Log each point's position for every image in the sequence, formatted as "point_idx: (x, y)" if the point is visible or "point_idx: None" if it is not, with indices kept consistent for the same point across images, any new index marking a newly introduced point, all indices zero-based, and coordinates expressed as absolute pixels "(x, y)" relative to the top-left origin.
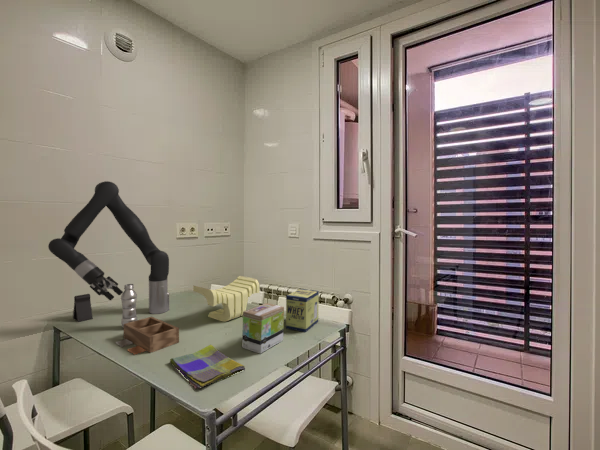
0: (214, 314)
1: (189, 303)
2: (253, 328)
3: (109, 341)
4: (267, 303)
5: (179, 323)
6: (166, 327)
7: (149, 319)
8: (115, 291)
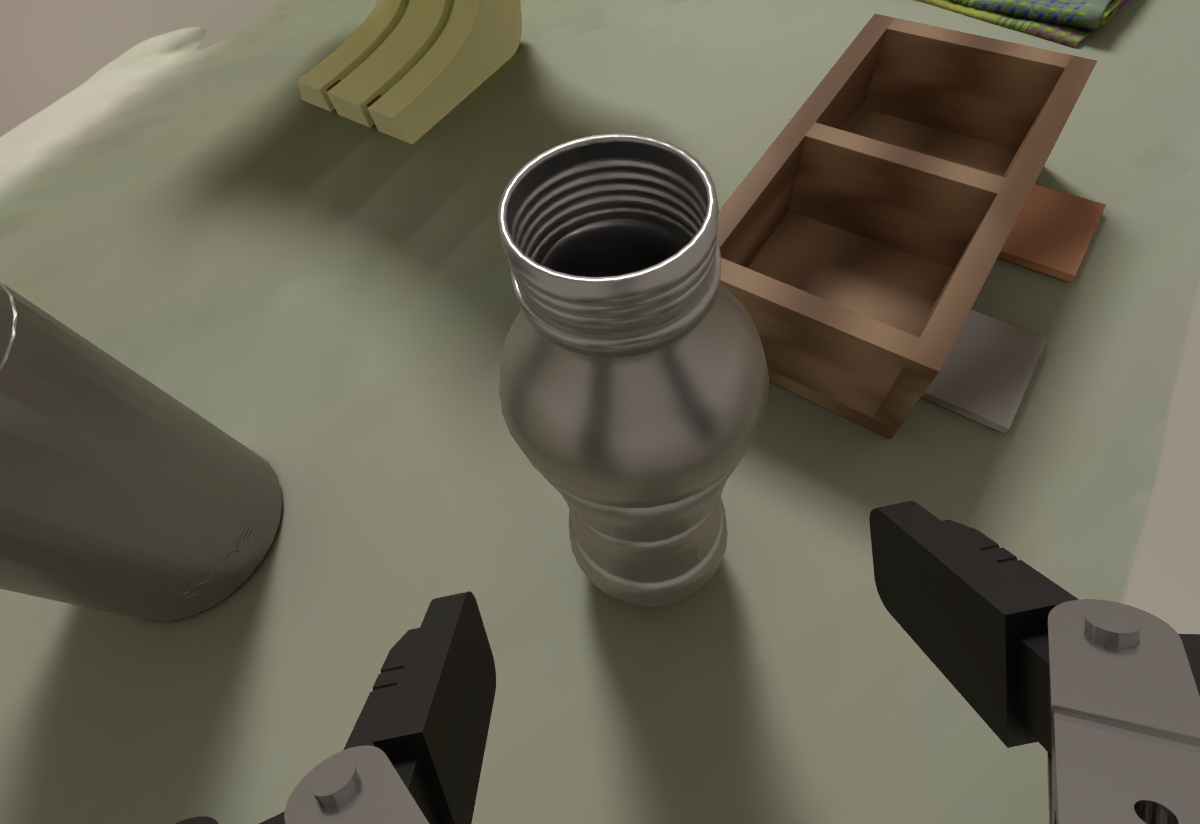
0: (432, 88)
1: None
2: None
3: (993, 510)
4: None
5: None
6: (836, 108)
7: None
8: (469, 772)
